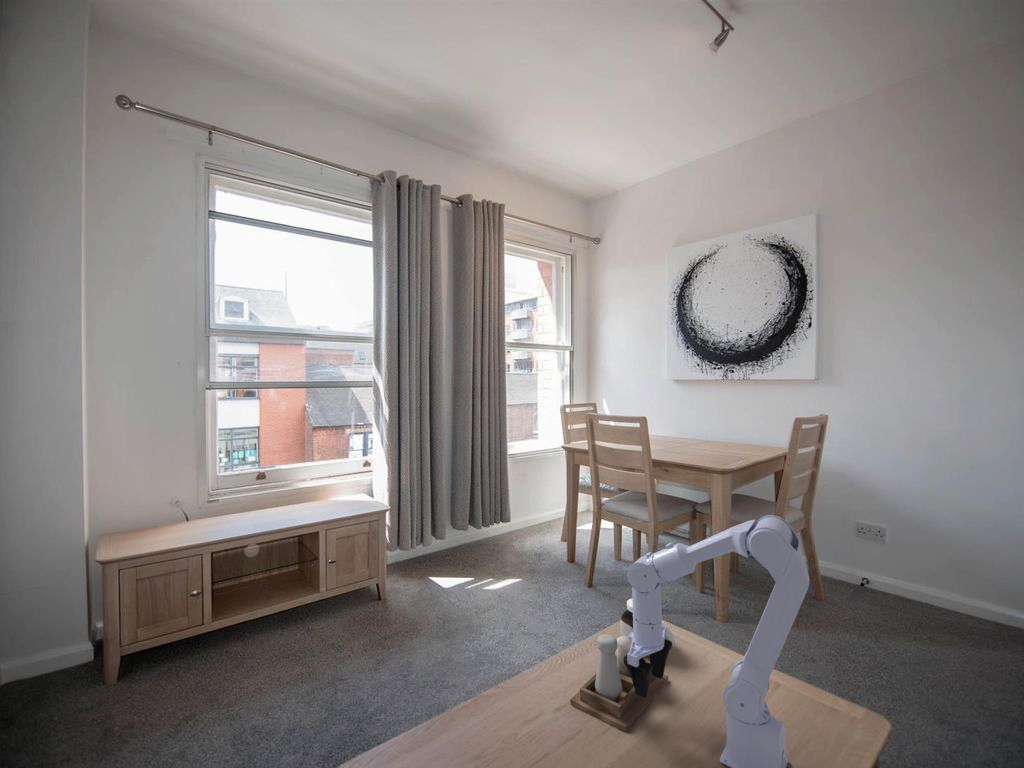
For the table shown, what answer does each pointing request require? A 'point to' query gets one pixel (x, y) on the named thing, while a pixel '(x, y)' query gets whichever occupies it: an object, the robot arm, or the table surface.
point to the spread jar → (627, 623)
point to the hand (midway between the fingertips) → (649, 685)
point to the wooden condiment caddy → (628, 702)
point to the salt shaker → (608, 669)
